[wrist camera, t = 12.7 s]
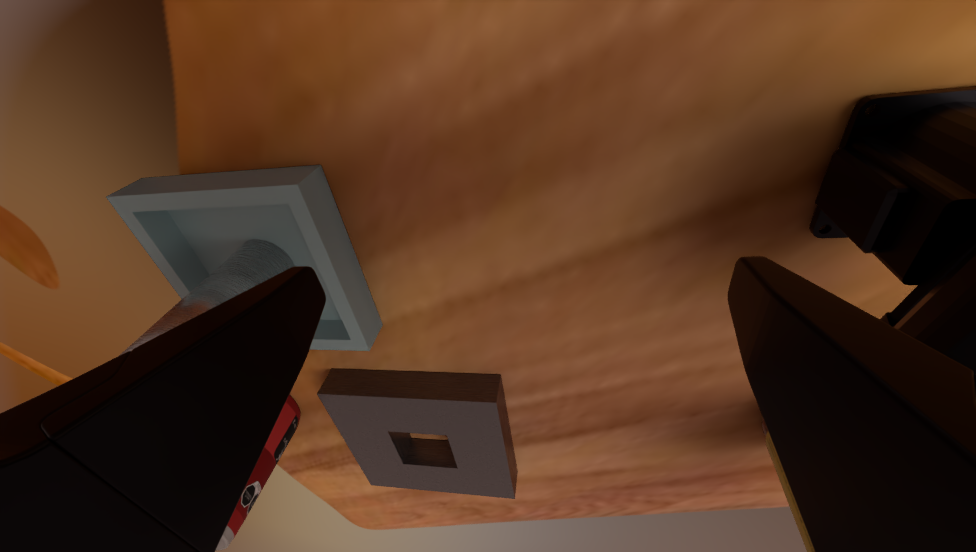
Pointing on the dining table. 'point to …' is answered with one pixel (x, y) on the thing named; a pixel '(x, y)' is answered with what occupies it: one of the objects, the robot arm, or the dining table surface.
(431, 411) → the block
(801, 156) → the dining table surface
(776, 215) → the dining table surface
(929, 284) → the robot arm
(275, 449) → the canned food
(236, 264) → the hitch pin
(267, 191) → the tray
